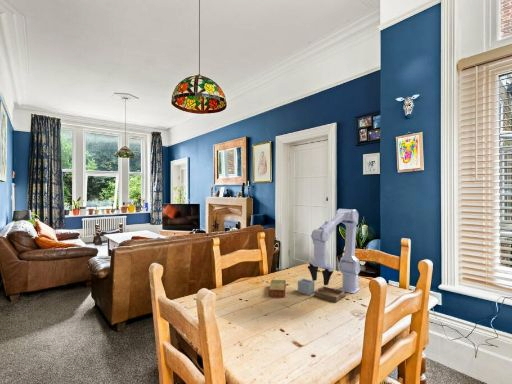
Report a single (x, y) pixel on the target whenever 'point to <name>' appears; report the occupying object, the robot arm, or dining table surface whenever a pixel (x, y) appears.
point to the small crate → (306, 286)
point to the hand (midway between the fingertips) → (320, 282)
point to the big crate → (329, 294)
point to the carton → (277, 288)
